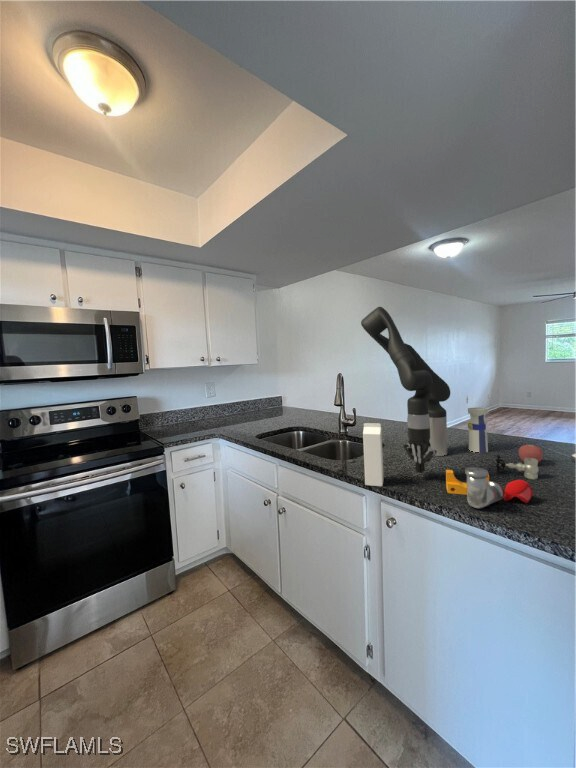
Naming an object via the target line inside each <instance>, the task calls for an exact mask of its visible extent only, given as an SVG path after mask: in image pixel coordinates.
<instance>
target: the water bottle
mask: <svg viewBox="0 0 576 768" xmlns="http://www.w3.org/2000/svg"><path fill="white" fill-rule="evenodd" d="M468 398H469V397H468V396H466V404H468V400H469V399H468ZM467 413H468V416H469V417H470V418H469V421H468V423H467V428H468V449H469V450H470V451H469V450H468V451H469V452H471V451H473V452H472V453H475V452H479V453H478V454H487V453H489V445H488V431H487V424H488V421H487V420H486V416H487V415H488V414H489V410H488V408H487V407H468V408H467ZM486 452H487V453H486Z"/></svg>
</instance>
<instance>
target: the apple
mask: <svg viewBox="0 0 576 768" xmlns="http://www.w3.org/2000/svg"><path fill="white" fill-rule="evenodd" d="M518 456H519V458H520V460H521V461H522V462H524V459H525V458H534V459H536V460H538V463H540V462H541V461H542V460H543V457H544V452H543V450H542V449H541V448H540V447H538V446H537V445H533V444H531V443H529V444H524V445H521V446H520V447H519V449H518Z"/></svg>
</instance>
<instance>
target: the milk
mask: <svg viewBox="0 0 576 768" xmlns="http://www.w3.org/2000/svg"><path fill="white" fill-rule="evenodd" d="M381 426H382V424H381V423H378V422H377V423H376V422H375V423H373V422H366V423H365V422H364V423H363V429H362V430H363V431H362V437H363V438H362V442H363V461H364V462H363V464H364V485H365V486H371V487H372V486H373V487H374V486H375V487H383V486H384V485H383V484H384V459H383V455H384V453H383V436H382V435H383V431H382V430H383V429H382V427H381Z"/></svg>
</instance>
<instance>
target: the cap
mask: <svg viewBox="0 0 576 768" xmlns="http://www.w3.org/2000/svg"><path fill="white" fill-rule="evenodd" d="M533 494H534V491H533V489H532V487H531V485H530V483H528V482H527V481H525V480H523V479H515V480H512V481H511V482H507V484H506V486H505V488H504V496H503V500H504V501H505V502H508V501H510V500H512V499H513V498H514V497H515V498H517V499H520V501H522V502H523V503H525V504H528V503H529V501H530V500H531V499H532V497H533Z"/></svg>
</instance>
